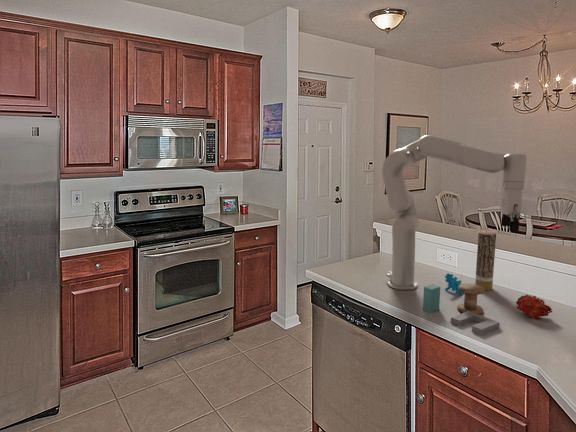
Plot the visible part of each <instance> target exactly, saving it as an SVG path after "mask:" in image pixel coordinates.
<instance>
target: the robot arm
mask: <svg viewBox="0 0 576 432" xmlns="http://www.w3.org/2000/svg"><path fill="white" fill-rule="evenodd" d="M428 157H429V158H432V159H436V160H440V161H444V162H446V163H447V162H448V163H451V164H454V165H459V166H462V167H463V166H464V167H467V168H471V169H474V170H478V171H481V172H486V173H489V174H496V173H500V172H501V171H503V175H502V176H503V177H502V185H501V187H502V188H501V189H502V194H501V198H500V207H499V211H500V212H501V221H500V222H501V223H500V225H501V227H509V228H508V229H509V232H519V230H520V220H521V214H522V213H521V212H522V204H523V203H522V201H523V198H522V197H523V194H522V193H523V191H524V189H525V182H526V181H525V178H526V169H527V155H526V154H525V153H521V152H516V153H515V152H514V153H513V152H512V153H499V152H491V151H487V150H484V149H483V150H482V149H478V148H475V147H472V146H470V145H467V144H464V143H462V142H459V141H455V140H451V139H447V138H442V137H438V136H435V135H432V134H425V135H423V136H421V137H420V138H419V139H417V140H416V141H413V142H412V143H410V144H408V145H406V146H404V147H402V148H398V149H395V150H393V151H392V152H391V153H390V154H389V155H388V156H387V157H386V158H385V160H384V161H383V165H382V168H381V169H382V180H383V184H384V189H385V193H386V196H387V203H388V207H389V208H390V210H391V211H393V212H394V216H395V219H394V220H393V223H392V226H391V227H392V228H391V232H392V233H391V234H392V235H391V236H392V254H391V255H392V259H391V270H390V271H388V272H387V274H386V277H387V278H389V280H388V281H387V285H388V286H389V287H390V288H393V289H396V290H401V291H410V290H415V289H417V288H418V282H417V281H415V261H416V259H415V258H416V230H417V229H418V226H419V218H418V213H417V212H418V211H417V208H416V204H415V201H414V197H413V194H412V193H411V191H410V190H408V189H407V187H406V182H405V181H406V180H405V177H404V173H403V171H404V169H407V168H409V167H410V166H412V165H415V164H417V163H418V162H420V161H423V160H425V159H427V158H428Z"/></svg>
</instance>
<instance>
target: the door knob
mask: <svg viewBox="0 0 576 432" xmlns="http://www.w3.org/2000/svg"><path fill="white" fill-rule="evenodd" d="M458 289H459V291H461V292H463V294H464V300H463V303H459V304H457V305H456V308H457V309H456V310H457V311H458V312H459V313H460V314H462V313H465V312H468V311H470V312H473V313H476V314H478V315H481V316H482V314H483V313H484V309H483V306H479V305H478V295H483V294H485V291H486V290H485V289H484V288H483V287H482V286H479V285H475V283H461V285H459V287H458Z"/></svg>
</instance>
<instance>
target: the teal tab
mask: <svg viewBox="0 0 576 432" xmlns="http://www.w3.org/2000/svg"><path fill="white" fill-rule="evenodd" d="M422 299H423V300H422V302H423V303H422V310H424V311H426V312H428V313H432V312H435V311H438V310H440V304H441V286H439V285H437V284H430V285H425V286H423V298H422Z"/></svg>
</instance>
